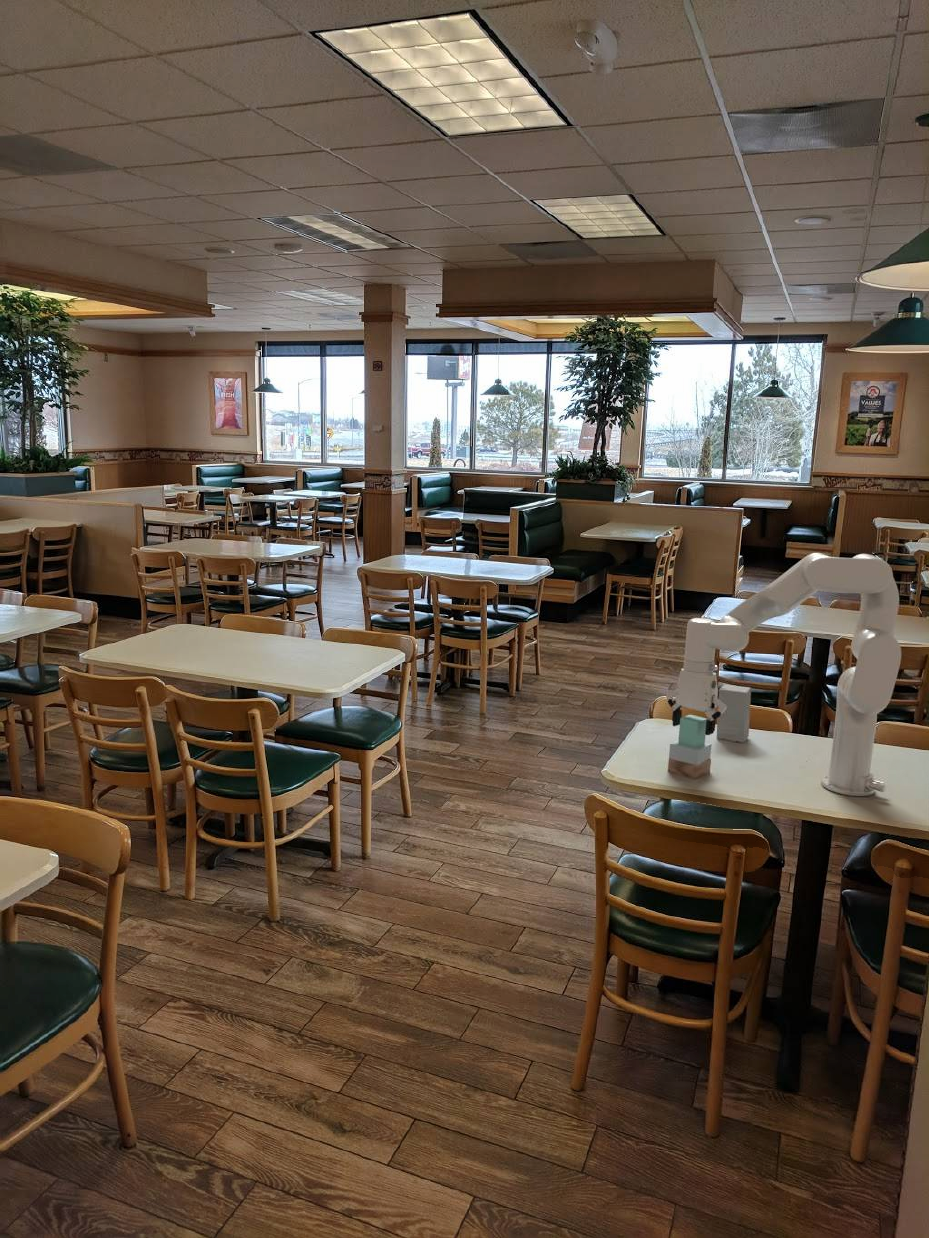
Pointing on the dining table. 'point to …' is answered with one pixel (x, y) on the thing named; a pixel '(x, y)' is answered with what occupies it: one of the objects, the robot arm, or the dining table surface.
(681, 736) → the block
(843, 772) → the robot arm
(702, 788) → the dining table surface
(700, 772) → the tower base
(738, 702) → the skincare box
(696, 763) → the tower top
